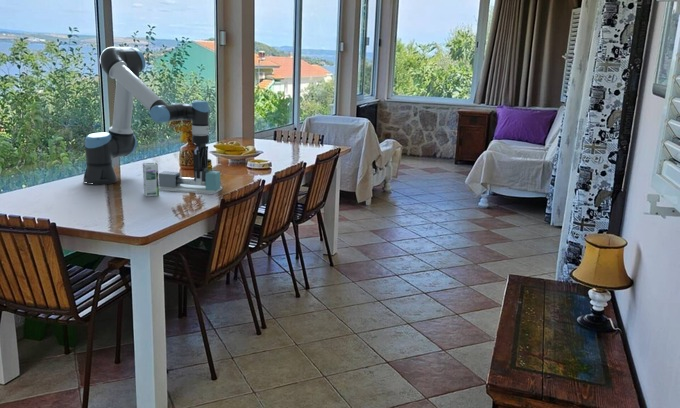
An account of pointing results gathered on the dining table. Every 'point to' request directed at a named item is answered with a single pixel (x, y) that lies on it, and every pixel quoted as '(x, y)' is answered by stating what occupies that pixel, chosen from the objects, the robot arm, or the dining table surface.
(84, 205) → the dining table surface
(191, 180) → the tube
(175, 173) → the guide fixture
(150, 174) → the syrup box
